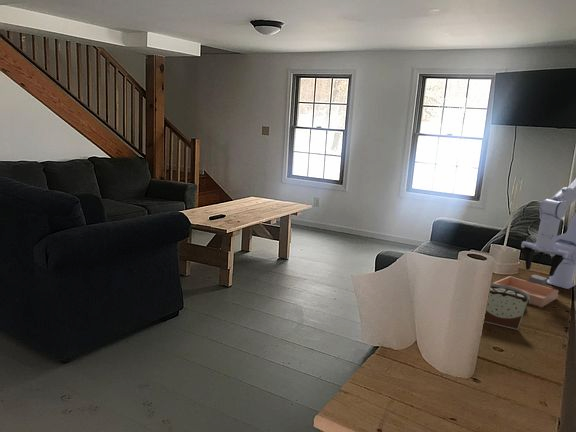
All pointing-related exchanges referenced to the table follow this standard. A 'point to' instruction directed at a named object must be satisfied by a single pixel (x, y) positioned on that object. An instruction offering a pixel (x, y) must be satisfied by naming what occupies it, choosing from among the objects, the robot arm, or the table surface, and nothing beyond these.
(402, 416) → the table surface
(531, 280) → the grey block
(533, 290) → the terracotta bin
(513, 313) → the food container
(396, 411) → the table surface
